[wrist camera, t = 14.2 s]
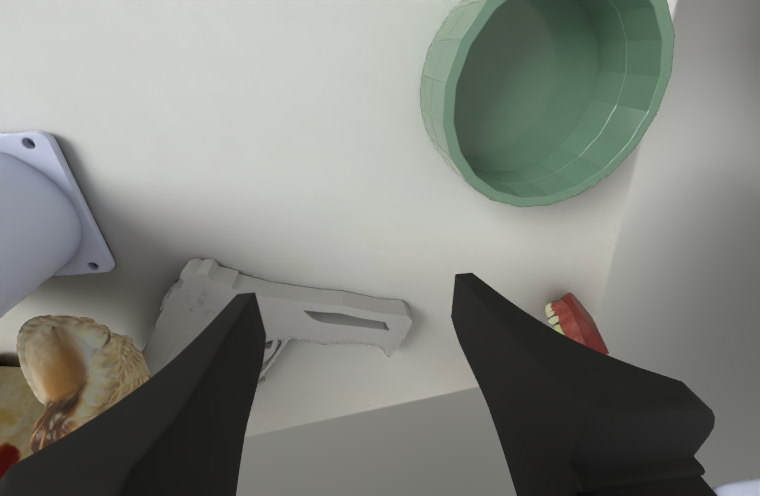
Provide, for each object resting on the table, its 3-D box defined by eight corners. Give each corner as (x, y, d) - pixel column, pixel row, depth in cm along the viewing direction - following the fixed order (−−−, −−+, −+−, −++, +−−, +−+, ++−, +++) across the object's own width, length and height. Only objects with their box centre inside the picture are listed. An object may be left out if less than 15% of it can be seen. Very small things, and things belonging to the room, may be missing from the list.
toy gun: (248, 498, 35) (81, 467, 30) (416, 306, 25) (211, 206, 20) (245, 519, 34) (67, 491, 28) (421, 324, 24) (200, 220, 18)
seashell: (-21, 520, 12) (60, 492, 20) (168, 422, 16) (175, 430, 24) (-67, 325, 14) (24, 369, 22) (113, 275, 18) (136, 328, 25)
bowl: (417, 182, 21) (436, 213, 17) (423, -28, 16) (453, -52, 12) (574, 171, 21) (627, 199, 18) (626, -30, 17) (716, -53, 13)
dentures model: (559, 299, 22) (490, 384, 25) (624, 339, 21) (544, 422, 24) (554, 275, 27) (497, 348, 30) (606, 306, 26) (542, 378, 29)
